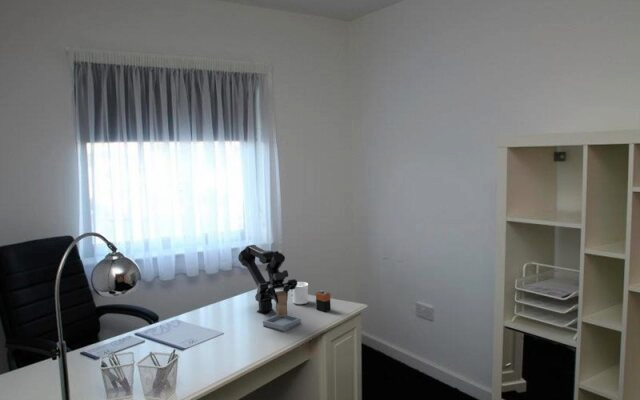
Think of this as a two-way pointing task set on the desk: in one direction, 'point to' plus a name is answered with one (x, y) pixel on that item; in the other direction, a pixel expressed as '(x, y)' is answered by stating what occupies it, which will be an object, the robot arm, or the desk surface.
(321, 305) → the battery
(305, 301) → the mug
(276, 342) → the desk surface
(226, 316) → the desk surface
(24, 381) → the desk surface
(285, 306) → the walnut block
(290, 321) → the tray
